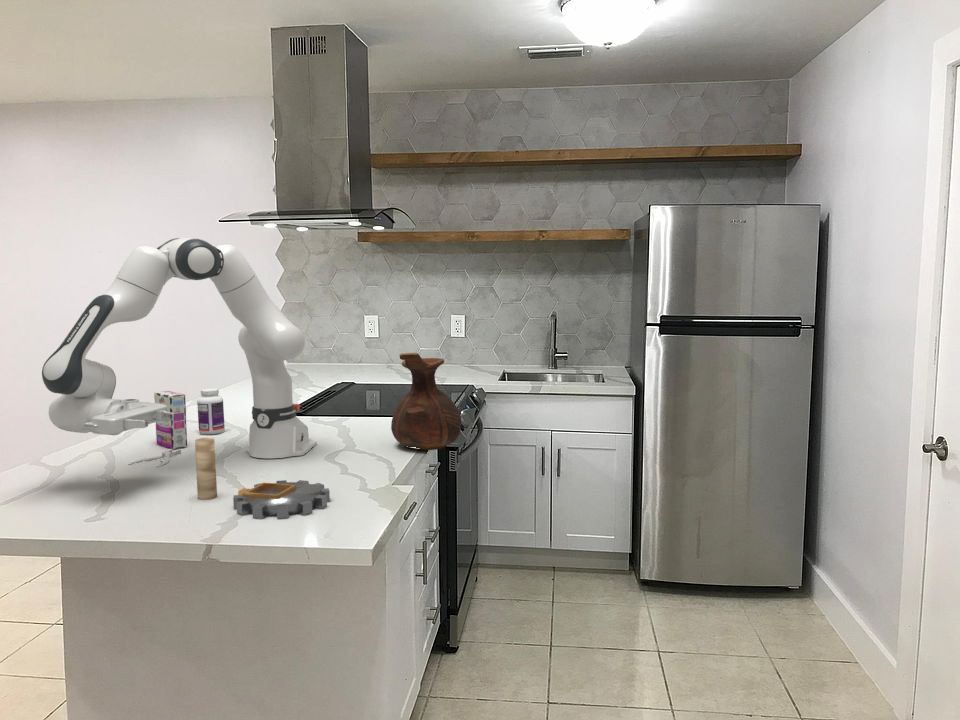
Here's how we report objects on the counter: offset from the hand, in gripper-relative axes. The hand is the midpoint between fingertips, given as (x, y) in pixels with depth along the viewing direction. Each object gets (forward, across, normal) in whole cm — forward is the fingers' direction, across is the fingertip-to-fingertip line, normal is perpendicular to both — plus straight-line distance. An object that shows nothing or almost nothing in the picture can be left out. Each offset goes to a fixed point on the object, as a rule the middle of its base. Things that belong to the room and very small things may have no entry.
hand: (159, 420), depth 187 cm
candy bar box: (-29, +42, +18) cm, 54 cm away
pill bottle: (-28, +61, +18) cm, 70 cm away
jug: (+46, +62, +17) cm, 80 cm away
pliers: (-22, +28, +18) cm, 40 cm away
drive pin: (+12, 0, +18) cm, 22 cm away
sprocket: (+32, 0, +18) cm, 37 cm away
